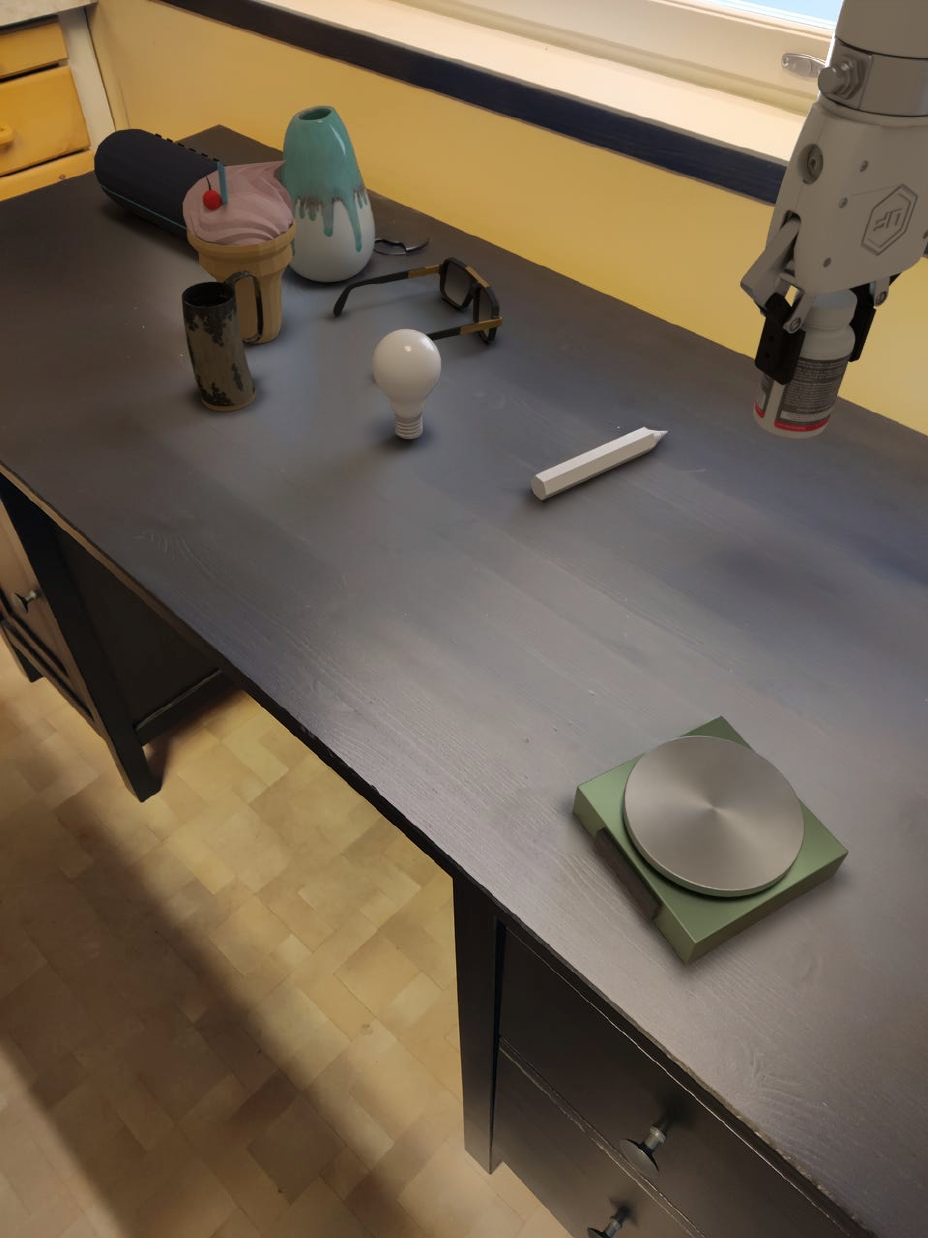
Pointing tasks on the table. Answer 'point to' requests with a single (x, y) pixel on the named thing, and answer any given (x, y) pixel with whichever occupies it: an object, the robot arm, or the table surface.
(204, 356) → the mug
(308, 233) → the vase
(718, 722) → the scale
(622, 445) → the white pencil
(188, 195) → the ice cream cone
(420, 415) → the lightbulb
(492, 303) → the sunglasses
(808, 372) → the pill bottle
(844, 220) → the robot arm
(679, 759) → the pan
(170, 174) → the portable speaker
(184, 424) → the table surface
